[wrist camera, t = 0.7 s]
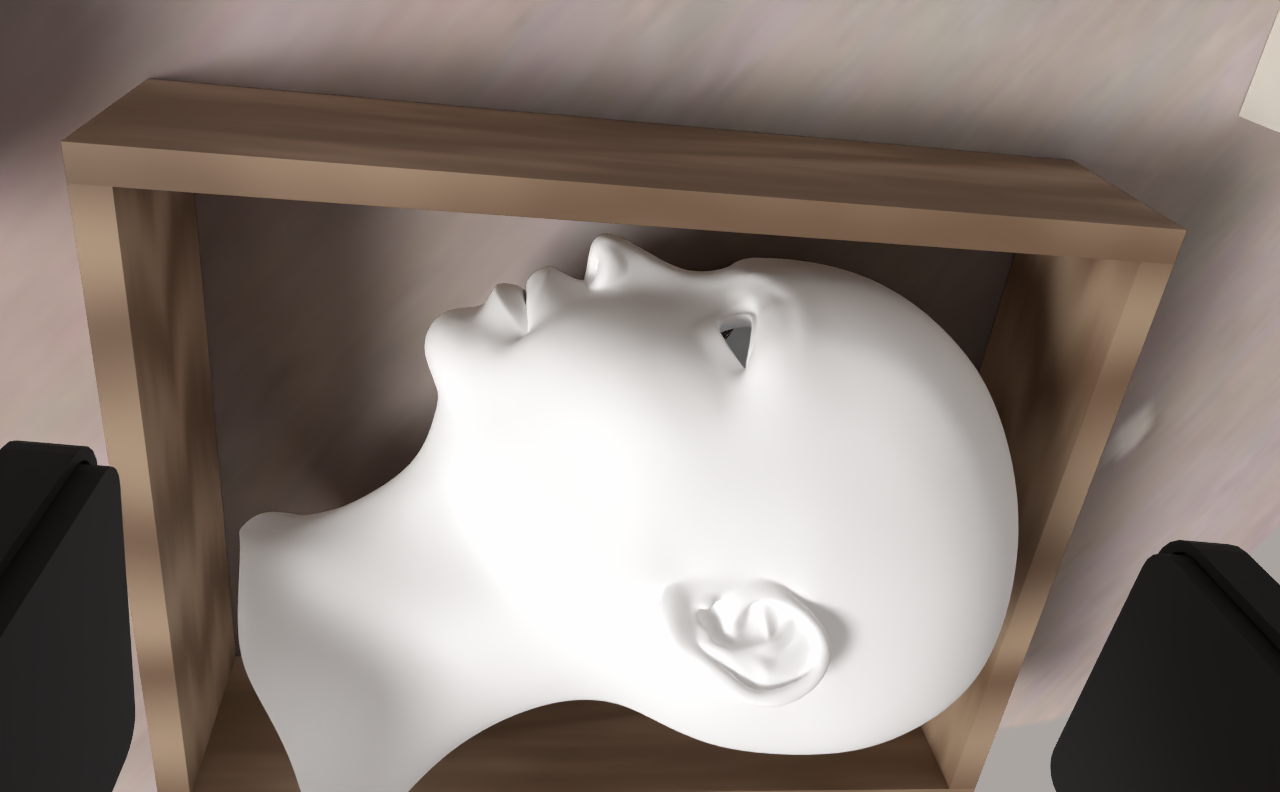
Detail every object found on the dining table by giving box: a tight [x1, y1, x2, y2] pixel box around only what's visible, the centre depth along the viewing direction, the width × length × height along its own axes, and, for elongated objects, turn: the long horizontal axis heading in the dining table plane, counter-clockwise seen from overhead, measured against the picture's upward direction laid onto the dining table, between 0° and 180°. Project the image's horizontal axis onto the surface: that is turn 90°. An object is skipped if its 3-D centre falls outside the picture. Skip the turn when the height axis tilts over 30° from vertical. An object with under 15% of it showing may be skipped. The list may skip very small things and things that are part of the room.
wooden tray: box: [61, 79, 1187, 792], centre depth 41 cm, size 27×34×8 cm
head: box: [238, 234, 1018, 792], centre depth 38 cm, size 16×21×28 cm
